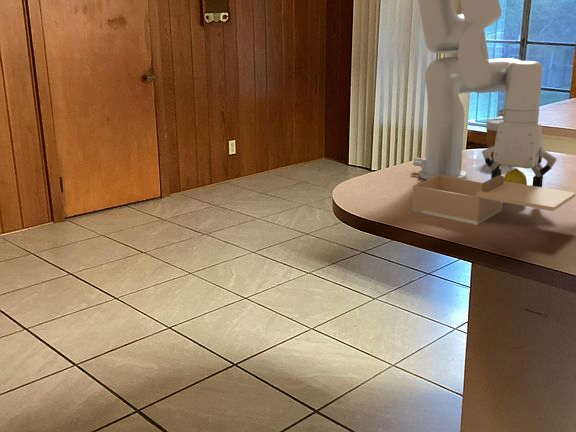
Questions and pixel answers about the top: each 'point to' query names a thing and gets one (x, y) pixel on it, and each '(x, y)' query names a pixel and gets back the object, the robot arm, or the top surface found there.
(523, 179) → the lemon
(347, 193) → the top surface
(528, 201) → the mailer lid
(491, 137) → the disposable coffee cup
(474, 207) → the mailer box
